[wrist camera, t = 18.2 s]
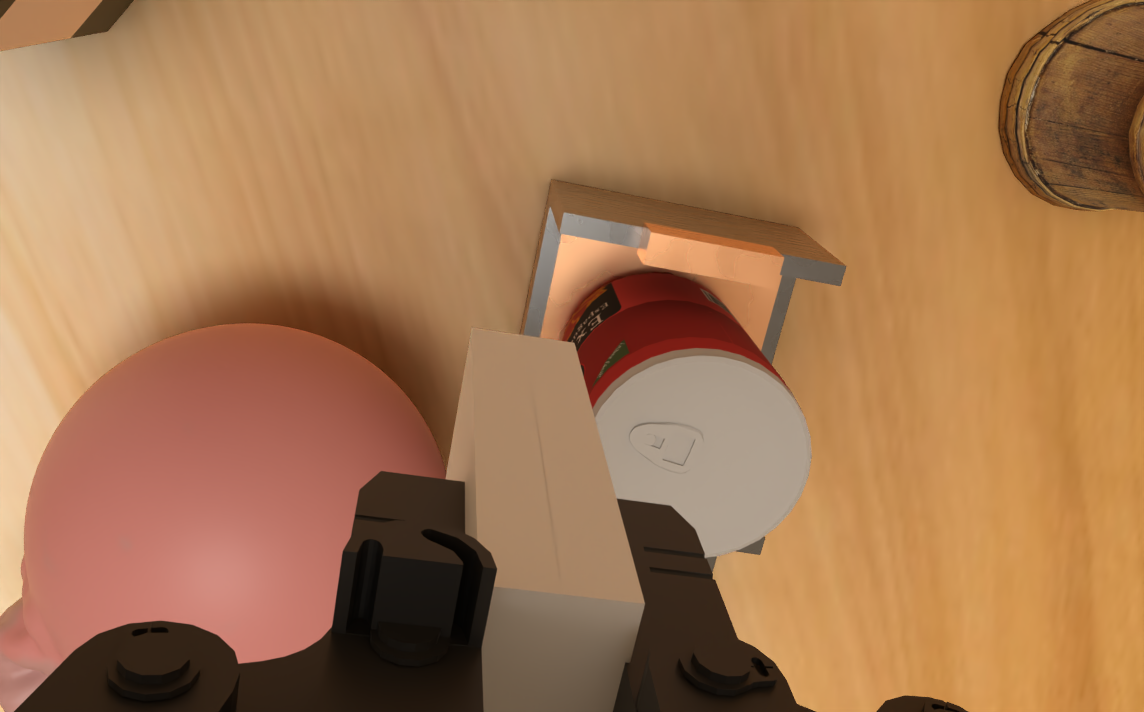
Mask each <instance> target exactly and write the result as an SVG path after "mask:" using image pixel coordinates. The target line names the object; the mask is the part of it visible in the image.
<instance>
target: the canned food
mask: <svg viewBox="0 0 1144 712" xmlns="http://www.w3.org/2000/svg"><path fill="white" fill-rule="evenodd" d="M562 341H565V342H572V343H575V347H576V351H577V354H578V358H579V362H580V365H581V369H582V373H583V376H584V380H585V384H586V388H587V391H588V395H589V399H590V402H591V406H592V410H593V413H594V417H595V421H596V424H597V428H598V432H599V436H600V439H601V443H602V447H603V450H604V454H605V458H606V461H607V465H608V469H609V473H610V476H611V480H612V484H613V487H614V491H615V495H616V498H617V499H625V500H633V501H640V502H648V503H656V504H663V505H671V506H672V507H673V508H674V509H675V510H676V511H677V512H678V513H679V514H680V515H681V516H682V517H683V518H684V519H685V520H686V521H687V522H688V523H689V524H690V525H691V526H693V527H694V528H695V530H696V532H697V535H698V537H699V540H700V543H701V545H702V548H703V550H704V553H705V558H707V557H714V556H720V555H724V554H727V553H730V552H734V551H737V550H740V549H742V548H744V547H746V546H748V545H750V544H752V543H754V542H756V541H758V540H760V539H761V538H762V537H764V536H765V535H767V534H768V533H769V532H771V531H772V530H773V529H775V528H776V527H777V526H778V525H779V524H780V523H781V522H782V521H783V520H784V518H785V517H786V516H787V515H788V514H789V513H790V512H791V510H792V509H793V507H794V506H795V504H796V503H797V501H798V499H799V498H800V496H801V494H802V492H803V489H804V487H805V484H806V481H807V479H808V476H809V470H810V463H811V457H812V455H811V439H810V434H809V430H808V427H807V424H806V420H805V417H804V415H803V413H802V410H801V408H800V406H799V405H798V403H797V401H796V399H795V397H794V396H793V394H792V392H791V391H790V390H789V388H788V387H787V386H786V384H785V382H784V381H783V379H782V378H781V377H780V375H779V374H778V373H777V371H776V370H775V369H774V368H773V366H772V365H771V364H770V362H769V361H768V360H767V358H766V357H765V356H764V355H763V353H762V352H761V351H760V349H759V348H758V347H757V345H756V344H755V343H754V342H753V340H752V339H751V338H750V336H749V335H748V334H747V332H746V331H745V330H744V329H743V327H742V326H741V325H740V323H739V322H738V321H737V319H736V318H735V317H734V316H733V314H732V313H731V312H730V310H729V309H728V308H727V307H726V306H725V305H724V303H723V302H722V301H721V300H720V299H719V298H718V297H717V296H716V295H714V294H713V293H712V292H710V291H709V290H708V289H706V288H705V287H704V286H702V285H700V284H697V283H695V282H693V281H691V280H689V279H687V278H683V277H679V276H675V275H671V274H661V273H645V274H637V275H630V276H627V277H624V278H621V279H617V280H615V281H613V282H611V283H609V284H607V285H605V286H603V287H601V288H600V289H598V290H597V291H596V292H595V293H593V294H592V295H591V296H590V297H588V298H587V299H586V300H585V301H584V302H583V303H582V304H581V306H580V307H579V308H578V309H577V310H576V312H575V313H574V314H573V316H572V318H571V320H570V321H569V323H568V325H567V327H566V329H565V332H564V335H563V339H562Z"/></svg>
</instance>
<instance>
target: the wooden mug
mask: <svg viewBox="0 0 1144 712" xmlns="http://www.w3.org/2000/svg"><path fill="white" fill-rule="evenodd" d="M999 129H1000V135H1001V140H1002V146H1003V151H1004V155H1005V157H1006V159H1007V161H1008V163H1009V165H1010V167H1011V169H1012V171H1013V172H1014V174H1015V176H1016V177H1017V178H1018V179H1019V180H1020V181H1021V183H1022V184H1023V185H1024V186H1025V187H1026V188H1027V189H1028V190H1029V191H1030V192H1031V193H1032V194H1033V195H1035V196H1037V197H1039V198H1041V199H1043V200H1045V201H1047V202H1049V203H1050V204H1052V205H1055V206H1060V207H1065V208H1070V209H1075V210H1086V211H1107V210H1115V209H1122V210H1131V211H1140V212H1144V0H1092V1H1090V2H1087V3H1085V4H1083V5H1080V6H1078V7H1076V8H1073V9H1071V10H1069V11H1068V12H1066V13H1065V14H1064V15H1062V16H1061V17H1059V18H1058V19H1057V20H1055V21H1054V22H1052V23H1051V24H1050V25H1048V26H1047V27H1046V28H1044V29H1043V30H1042V31H1041V32H1040V33H1038V34H1037V35H1036V36H1035V37H1034V38H1033V39H1031V40H1030V41H1029V42H1028V43H1027V44H1026V45H1025V47H1024V48H1023V50H1022V52H1021V53H1020V55H1019V56H1018V58H1017V60H1016V61H1015V63H1014V64H1013V66H1012V68H1011V69H1010V71H1009V72H1008V76H1007V80H1006V84H1005V87H1004V91H1003V95H1002V99H1001V107H1000V125H999Z"/></svg>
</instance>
